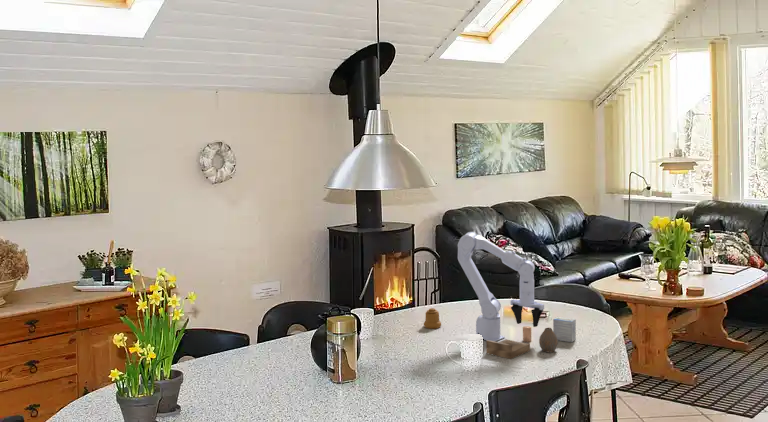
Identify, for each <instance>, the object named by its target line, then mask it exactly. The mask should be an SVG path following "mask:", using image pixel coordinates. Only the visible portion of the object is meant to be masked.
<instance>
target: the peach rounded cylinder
mask: <svg viewBox="0 0 768 422" xmlns="http://www.w3.org/2000/svg"><path fill="white" fill-rule="evenodd" d="M522 341H523V343H530V342H532V326H523V327H522Z"/></svg>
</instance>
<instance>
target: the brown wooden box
mask: <svg viewBox="0 0 768 422" xmlns="http://www.w3.org/2000/svg"><path fill="white" fill-rule="evenodd" d="M485 341H486V349H485V350H486V354H487V353H489V354H488V355H491V354H493V355H492V356H495V355H496V356H495V357H501V358H504V359H510V360H512V359H514V358H517V357H519V356H521V355H524V354H525V353H528V352H530V351H531V344H530V343H527V342H521V341H515V340H511V339H506V338H505V339H502V340H501V341H500V340H499V341H490V340H485Z"/></svg>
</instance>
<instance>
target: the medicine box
mask: <svg viewBox="0 0 768 422" xmlns="http://www.w3.org/2000/svg"><path fill="white" fill-rule="evenodd" d="M576 321H577V319H576V318H570V317H563V316H557V317H555V318H553V325H552V328H553V329H552V330H553V332H554V333H555V334H556V336H557V339H558V342H566V343H567V342H568V343H573V342H575V341H576V338H577V337H576V335H577V334H576V333H577V332H576V326H577V325H576V323H577V322H576Z"/></svg>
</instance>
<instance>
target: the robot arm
mask: <svg viewBox="0 0 768 422" xmlns="http://www.w3.org/2000/svg"><path fill="white" fill-rule="evenodd" d="M474 250H477V251H478V250H484V251H486V252H488V253H490V254H492V255H494V256H495V257H498V259H499V258H500V260H501V262H502V264H504V265H506V267H509V268H510V269H512V270H514V271H516V272H518V275H519V299H514V298H512V299H510V309H511V312H512V313H513V315H514V317H515V320H516V321H515V322H516V324H519V325H521V324H522V312H523V307H524V308H530V309H531V310H530V312H531V316H532V326H533V328H537V327H539V326H538V325H539V321H540V317H541V316H542V314H543V312H544V310H545V304H544V303H540V302H537V301H535V276H534V275H535V273H534V272H535V269H536V266H535V264H534V262H533V261H532V260H531V259H527V257H522V256H520V255H518V254H516V251H515V250H512V251H511V250H506V251H505V250H504V249H502V248H501V247H499V246H498V245H496V244H494V243H493V242H492V241H490V240H489V239H488V238H487V239H486V238H485V237H484V236H482V235H481V234H477V233H476V232H474V231H468V232H466V233H465V234H464V235H462V236H461V237H459V240H458V243H457V260H458V263H459V265H460V266H461V268H462V270H463V272H464V274H465V277H467V279H468V281H469V283H470V285H471V287H472V288H473V290H474V292H475V294H476V296H477V298H478V302H479V305H480V309H481V314H480V315H478V317H477V318H476V320H475V335H476V334H480V335H482V337H483V339H484V341H487V340H490V341H495V342H499V341H500V340H504V338H505V339H506V337H505V335H501V315H500V313H499V312H500V311H501V309H502V308H501V307H502V305H501V302H500V301H499V299H497V298H496V297H495V296H494V294H493V293H492V292H491V291H490V290H489V288H488V286H487V284H486V282H485V281H484V278H483V277H482V275H481V274H480V271H479V270H478V267H477V266H476V264H475V262H474V261H473V259H472V256H473V253H474Z"/></svg>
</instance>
